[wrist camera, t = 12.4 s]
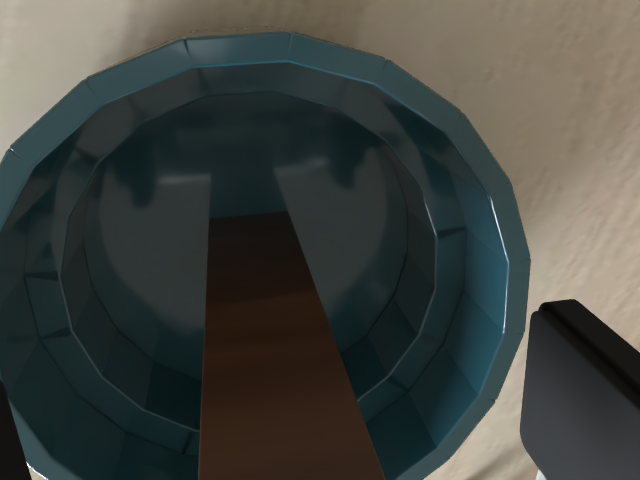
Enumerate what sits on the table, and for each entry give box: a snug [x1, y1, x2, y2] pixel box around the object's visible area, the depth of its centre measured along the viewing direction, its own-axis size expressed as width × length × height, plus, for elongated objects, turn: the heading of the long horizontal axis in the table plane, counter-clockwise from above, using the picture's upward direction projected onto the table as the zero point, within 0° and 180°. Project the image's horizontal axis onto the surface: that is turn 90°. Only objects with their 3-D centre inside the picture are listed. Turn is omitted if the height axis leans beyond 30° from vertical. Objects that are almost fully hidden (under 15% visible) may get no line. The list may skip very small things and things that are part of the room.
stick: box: [198, 211, 386, 480], centre depth 14 cm, size 2×2×12 cm
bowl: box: [0, 26, 531, 480], centre depth 17 cm, size 13×13×6 cm
